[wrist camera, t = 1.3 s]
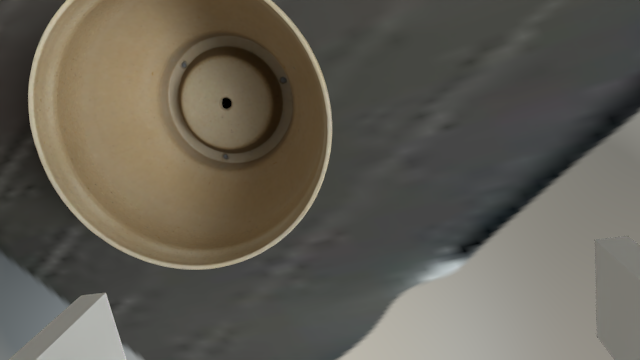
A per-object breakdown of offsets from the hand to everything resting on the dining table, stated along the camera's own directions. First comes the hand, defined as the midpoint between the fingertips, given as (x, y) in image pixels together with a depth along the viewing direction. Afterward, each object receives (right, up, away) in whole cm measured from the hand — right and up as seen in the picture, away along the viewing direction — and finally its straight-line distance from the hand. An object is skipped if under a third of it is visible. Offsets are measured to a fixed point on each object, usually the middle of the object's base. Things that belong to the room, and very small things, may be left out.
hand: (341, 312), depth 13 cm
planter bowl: (-7, +9, +23) cm, 25 cm away
